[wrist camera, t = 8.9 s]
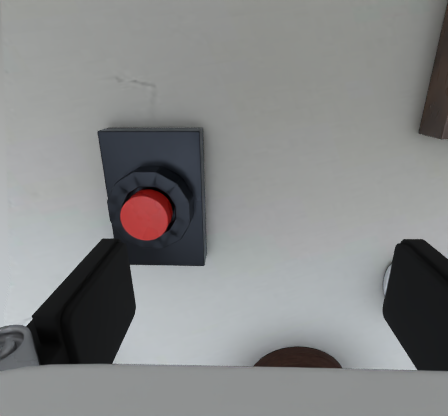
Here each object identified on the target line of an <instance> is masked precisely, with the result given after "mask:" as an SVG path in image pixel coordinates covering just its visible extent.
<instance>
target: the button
mask: <svg viewBox="0 0 448 416" xmlns="http://www.w3.org/2000/svg"><path fill="white" fill-rule="evenodd" d="M172 215H173V210H172V206H171V203H170V201H169V200H168V199H167V197H166V196H165V195H163V194H162V193H160V192H158V191H156V190H152V189H144V190H140V191H138V192H136V193H135V194H134V195H132V196H131V197H130V198H129V199H128V200H127V201H126V202H125V204H124V205H123V207H122V209H121V213H120V218H121V223H122V225H123V227H124V229H125V230H126V231H127V232H128V233H129V234H130V235H131V236H133V237H135V238H137V239H140V240H154V239H156V238H158V237H160V236H161V235H163V233H164V232H165V231H166V229H167V227H168V225H169V223H170V221H171V219H172Z"/></svg>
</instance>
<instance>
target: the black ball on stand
mask: <svg viewBox="0 0 448 416" xmlns="http://www.w3.org/2000/svg"><path fill="white" fill-rule="evenodd" d="M254 367H297V368H341V369H343V368H342V367H341V365H340V364H339V363H338V362H337V361H336V360H335V359H334V358H333V357H332V356H330V355H328V354H327V353H325V352H322V351H320V350H317V349H313V348H307V347H290V348H284V349H280V350H276V351H274V352H272V353H270V354H268V355H266V356H265V357H263V358H262V359H260V360H259V361H258V362H257V363H256V364H255V365H254Z"/></svg>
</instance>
